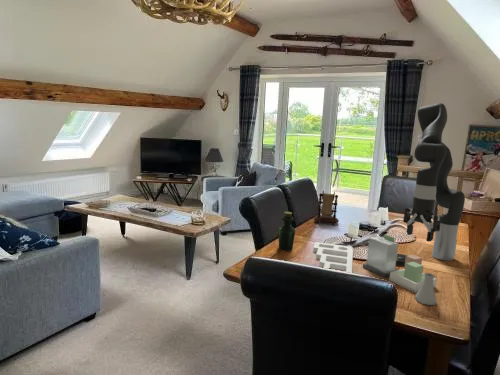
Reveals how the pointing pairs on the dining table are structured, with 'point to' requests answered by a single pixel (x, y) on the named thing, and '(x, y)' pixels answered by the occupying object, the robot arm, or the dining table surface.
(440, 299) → the dining table surface
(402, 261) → the disk drive
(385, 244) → the block
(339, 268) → the holder
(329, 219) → the scroll
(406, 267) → the sage block
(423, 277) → the tray
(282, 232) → the potion bottle
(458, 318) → the dining table surface
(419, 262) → the terracotta block
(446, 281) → the dining table surface
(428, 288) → the flask
